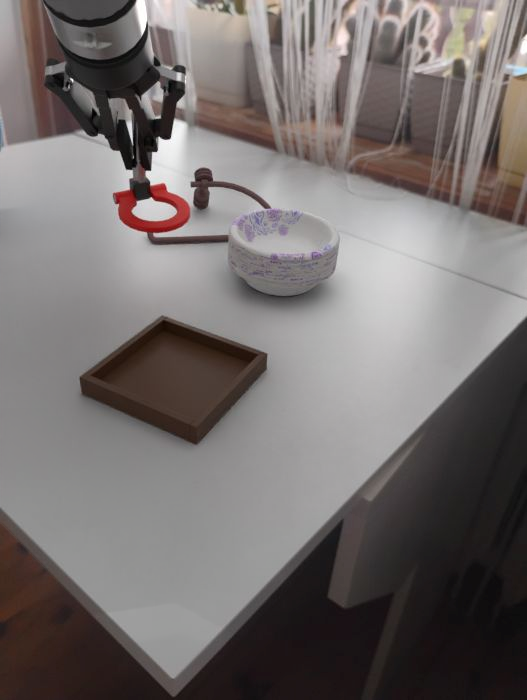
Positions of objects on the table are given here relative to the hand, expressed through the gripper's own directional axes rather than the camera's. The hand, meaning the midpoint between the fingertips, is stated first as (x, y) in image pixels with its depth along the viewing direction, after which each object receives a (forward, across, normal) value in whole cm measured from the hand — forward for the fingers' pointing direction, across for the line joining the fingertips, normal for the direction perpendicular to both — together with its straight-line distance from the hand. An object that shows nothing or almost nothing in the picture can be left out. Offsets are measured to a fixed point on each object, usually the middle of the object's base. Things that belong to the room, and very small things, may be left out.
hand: (139, 159), depth 74 cm
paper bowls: (+17, +18, -9) cm, 26 cm away
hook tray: (0, +6, -26) cm, 27 cm away
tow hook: (+2, +2, -6) cm, 7 cm away
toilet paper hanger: (+30, +8, +4) cm, 31 cm away
